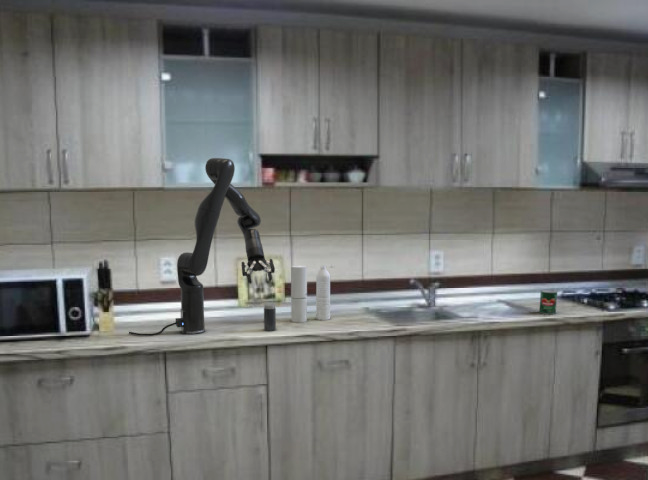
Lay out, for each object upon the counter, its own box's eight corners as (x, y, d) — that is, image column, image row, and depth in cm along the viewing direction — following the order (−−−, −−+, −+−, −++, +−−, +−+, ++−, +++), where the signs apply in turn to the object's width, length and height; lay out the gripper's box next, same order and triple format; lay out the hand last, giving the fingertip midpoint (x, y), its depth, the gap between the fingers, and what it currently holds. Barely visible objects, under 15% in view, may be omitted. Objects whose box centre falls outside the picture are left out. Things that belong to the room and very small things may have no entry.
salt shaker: (266, 331, 262) (265, 305, 260) (262, 329, 266) (262, 303, 264) (277, 330, 264) (277, 305, 262) (273, 328, 268) (273, 303, 266)
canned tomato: (543, 314, 302) (545, 292, 300) (536, 311, 310) (537, 289, 308) (558, 314, 303) (560, 292, 301) (551, 311, 311) (552, 289, 309)
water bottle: (319, 320, 284) (319, 266, 280) (314, 318, 290) (314, 265, 286) (336, 319, 288) (337, 265, 283) (331, 316, 294) (331, 264, 289)
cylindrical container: (309, 319, 286) (309, 266, 282) (303, 322, 279) (303, 267, 275) (295, 318, 288) (294, 265, 284) (288, 321, 282) (288, 267, 277)
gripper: (238, 247, 272) (244, 279, 265) (270, 244, 276) (277, 275, 268) (238, 257, 279) (244, 287, 271) (269, 253, 282) (276, 284, 275)
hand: (260, 281), depth 270 cm, fingers open, 8 cm apart
